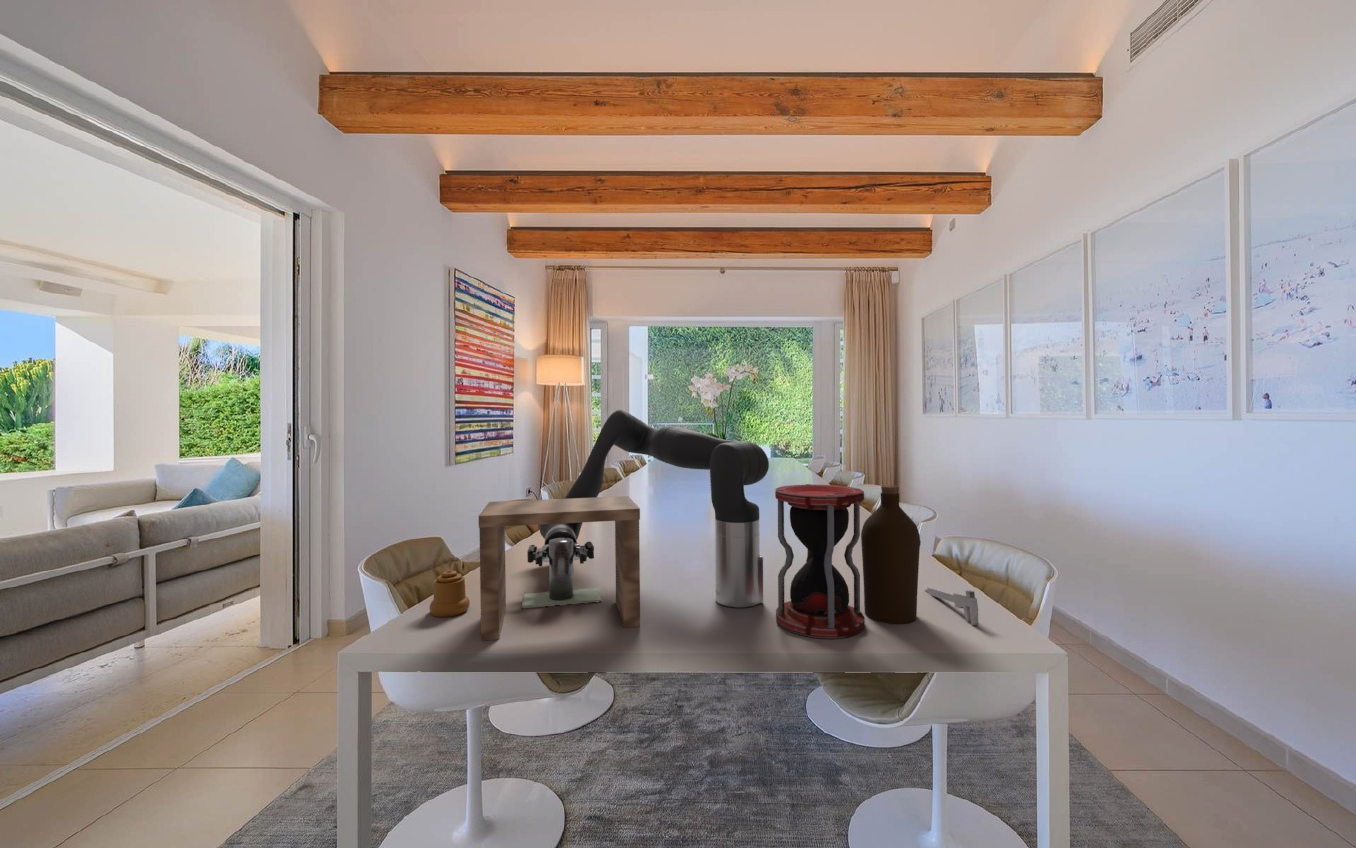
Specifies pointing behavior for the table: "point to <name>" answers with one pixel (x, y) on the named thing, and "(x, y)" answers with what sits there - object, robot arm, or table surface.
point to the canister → (560, 569)
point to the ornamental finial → (449, 595)
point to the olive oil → (890, 561)
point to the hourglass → (819, 561)
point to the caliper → (960, 602)
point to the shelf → (556, 513)
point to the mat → (578, 597)
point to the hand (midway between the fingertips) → (561, 560)
